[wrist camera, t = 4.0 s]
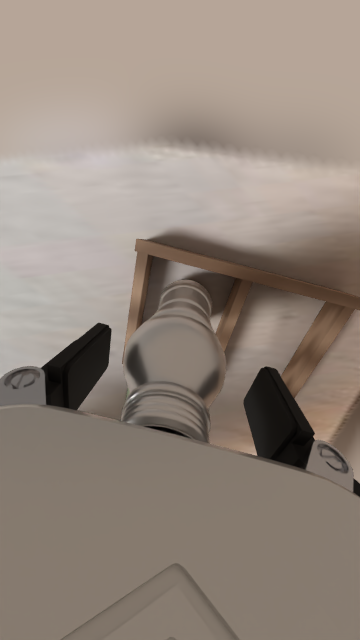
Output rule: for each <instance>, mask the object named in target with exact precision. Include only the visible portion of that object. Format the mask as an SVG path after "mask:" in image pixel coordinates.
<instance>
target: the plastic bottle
mask: <svg viewBox="0 0 360 640" xmlns="http://www.w3.org/2000/svg"><path fill="white" fill-rule="evenodd" d="M211 314H212V300H211V297H210V295H209V293H208V291H207V290H206V289H205V288H204V287H203V286H202V285H200V284H199V283H197V282H195V281H192V280H178V281H175V282H173V283H171V284H169V285H168V286H167V287H166V288H165V289H164V291H163V292H162V295H161V297H160V302H159V309H158V311H157V312H156V313H155V314H154V315H153V316H152V317H151V318H149V319H148V320H147V321H146V322H144V323H143V324H142V325H141V326H140V327H139V328H138V329H137V330H136V331H135V332H134V333H133V334H132V336H131V337H130V339H129V340H128V342H127V345H126V348H125V352H124V359H123V371H124V376H125V379H126V383H127V386H128V388H129V391H130V394H129V395H128V397H127V399H126V401H125V404H124V406H123V408H122V417H121V420H120V421H123V422H127V423H131V424H135V425H139V426H143V427H147V428H151V429H155V430H159V431H163V432H167V433H171V434H175V435H179V436H182V437H186V438H190V439H194V440H198V441H202V442H206V443H210V442H209V432H210V415H209V410H208V407H209V406H210V405H211V404H212V402H213V401H214V399H215V398H216V397H217V395H218V394H219V392H220V391H221V389H222V386H223V383H224V379H225V374H226V367H227V365H226V357H225V355H224V352H223V349H222V346H221V344H220V341H219V340H218V338H217V336H216V334H215V332H214V330H213V329H212V326H211V323H210V317H211Z"/></svg>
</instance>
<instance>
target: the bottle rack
mask: <svg viewBox="0 0 360 640" xmlns="http://www.w3.org/2000/svg"><path fill="white" fill-rule="evenodd" d="M135 251H137V259H136V266H135V273H134V280H133V288H132V295H131V302H130V310H129V317H128V324H127V332H126V339H125V346H124V352H125V348H126V345H127V342H128V340H129V339H130V337H131V336H132V334H133V333H134V332H135V331H136V330H137V329H138V328H139V327H140V326H141V324H142V318H143V312H144V307H145V301H146V295H147V289H148V283H149V277H150V272H151V266H152V260H153V256H156V257H160V258H164V259H167V260H171V261H175V262H179V263H183V264H186V265H190V266H194V267H198V268H201V269H205V270H209V271H213V272H217V273H220V274H224V275H228V276H232V277H236V279H235V282H234V285H233V287H232V290H231V293H230V295H229V298H228V301H227V304H226V306H225V309H224V312H223V315H222V317H221V320H220V323H219V325H218V328H217V331H216V336H217V338H218V340H219V341H220V344H221V346H222V349H223V352H224V351H225V349H226V346H227V344H228V341H229V339H230V336H231V334H232V332H233V329H234V327H235V324H236V322H237V319H238V317H239V314H240V312H241V310H242V307H243V305H244V302H245V300H246V297H247V295H248V292H249V290H250V288H251V285H252V283H253V282H255V283H258V284H262V285H266V286H270V287H274V288H277V289H281V290H285V291H289V292H293V293H296V294H300V295H304V296H308V297H311V298H315V299H319V300H323V301H326V302H325V304H324V306H323V307H322V309H321V311H320V312H319V314H318V316H317V317H316V319H315V321H314V322H313V324H312V326H311V327H310V329H309V331H308V332H307V334H306V336H305V337H304V339H303V341H302V342H301V344H300V345H299V347H298V349H297V350H296V352H295V354H294V355H293V357H292V359H291V360H290V362H289V364H288V365H287V367H286V369H285V370H284V372H283V374H282V375H281V378H282V379H283V381H284V383H285V384H286V386H287V388H288V389H289V391H290V393H291V394H292V396H293V398H295V396H296V395H297V393H298V392H299V390H300V389H301V387H302V386H303V385H304V383H305V382H306V380H307V379H308V377H309V376H310V374H311V373H312V371H313V370H314V368H315V367H316V365H317V364H318V363H319V361H320V360H321V358H322V357H323V355H324V354H325V352H326V351H327V349H328V348H329V346H330V345H331V344H332V342H333V341H334V339H335V338H336V336H337V335H338V333H339V332H340V330H341V329H342V327H343V326H344V325H345V323H346V322H347V320H348V319H349V317H350V316H351V314H352V313H353V311H354V310H355V309H357V310H360V297H357V296H354V295H351V294H348V293H345V292H341V291H338V290H334V289H330V288H326V287H323V286H319V285H315V284H311V283H308V282H304V281H300V280H296V279H292V278H289V277H285V276H281V275H277V274H274V273H270V272H266V271H262V270H259V269H255V268H251V267H247V266H243V265H240V264H236V263H232V262H228V261H225V260H221V259H217V258H213V257H210V256H206V255H202V254H198V253H194V252H191V251H187V250H183V249H179V248H176V247H172V246H168V245H164V244H161V243H157V242H153V241H149V240H144V239H136V245H135ZM123 359H124V353H123ZM122 364H123V361H122Z"/></svg>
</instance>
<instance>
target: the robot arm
mask: <svg viewBox="0 0 360 640" xmlns="http://www.w3.org/2000/svg"><path fill="white" fill-rule="evenodd" d="M110 341H111V328H109V326H108V325H106V324H102V323H97V324H96V325H95V326H94V327H92V328H91V329H90V330H89V331H88V332H86V333H85V334H84V335H83V336H81V337H80V338H79V339H78V340H76V341H74V342H73V343H71V344H70V345H69V346H68V347H66V348H65V349H64V350H63V351H61V352H60V353H59V354H58V355H56V356H55V357H54V358H53V359H51V360H50V361H49V362H48V363H46V364H45V365H44V366H43V367H41V368H38V367H34V366H27V367H21V368H17V369H14V370H12V371H10V372H8V373H6V374H5V375H4V376H3V377H2V378H1V379H0V640H360V484H359V483H358V482H357V481H356V480H355V479H354V478H353V477H354V475H353V469H352V467H351V465H350V463H349V462H348V461H347V459H346V458H345V457H344V456H343V454H342V453H341V452H340V451H338V450H337V449H336V448H335V447H334V446H332V445H330V444H329V443H327V442H325V441H322V440H316V441H315V439H314V438H313V436H314V434H315V433H314V431H313V429H312V428H311V426H310V424H309V423H308V421H307V419H306V418H305V416H304V414H303V413H302V411H301V409H300V408H299V406H298V404H297V403H296V401H295V399H294V398H293V396H292V394H291V393H290V391H289V389H288V388H287V386H286V384H285V383H284V381H283V379H282V378H281V376H280V374H279V373H278V371H277V370H276V369H274V368H270V367H264V368H261V369H260V371H259V373H258V375H257V377H256V378H255V380H254V382H253V384H252V386H251V388H250V389H249V391H248V393H247V395H246V397H245V399H244V407H245V411H246V415H247V418H248V422H249V426H250V429H251V433H252V437H253V440H254V444H255V448H256V451H257V455H258V456H255V455H252V454H248V453H244V452H240V451H236V450H233V449H229V448H225V447H221V446H217V445H214V444H210V443H206V442H202V441H198V440H194V439H190V438H186V437H182V436H179V435H175V434H171V433H167V432H163V431H159V430H155V429H151V428H147V427H143V426H139V425H135V424H131V423H127V422H123V421H119V420H115V419H111V418H107V417H103V416H99V415H94V414H90V413H86V412H81V411H77V409H78V408H79V406H80V405H81V404H82V402H83V401H84V399H85V398H86V397H87V395H88V394H89V392H90V391H91V390H92V388H93V387H94V386H95V384H96V383H97V381H98V380H99V379H100V377H101V376H102V374H103V373H104V372H105V370H106V369H107V367H108V363H109V352H110Z"/></svg>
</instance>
